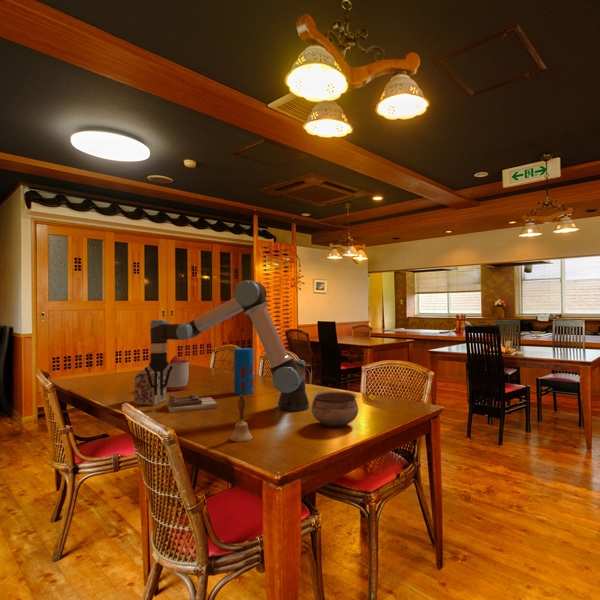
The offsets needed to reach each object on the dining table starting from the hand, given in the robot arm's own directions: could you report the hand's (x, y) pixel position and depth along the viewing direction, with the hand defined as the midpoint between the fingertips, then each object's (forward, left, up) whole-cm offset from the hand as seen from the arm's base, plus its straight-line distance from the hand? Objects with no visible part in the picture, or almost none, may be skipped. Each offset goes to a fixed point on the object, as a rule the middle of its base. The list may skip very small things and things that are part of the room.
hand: (158, 401), depth 189 cm
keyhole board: (0, -15, -4) cm, 16 cm away
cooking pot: (-57, -64, -4) cm, 86 cm away
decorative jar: (+18, +3, -4) cm, 19 cm away
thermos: (+21, -47, -4) cm, 52 cm away
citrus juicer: (+49, -12, -4) cm, 51 cm away
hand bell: (-57, -25, -4) cm, 62 cm away
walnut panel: (0, -12, -2) cm, 12 cm away
